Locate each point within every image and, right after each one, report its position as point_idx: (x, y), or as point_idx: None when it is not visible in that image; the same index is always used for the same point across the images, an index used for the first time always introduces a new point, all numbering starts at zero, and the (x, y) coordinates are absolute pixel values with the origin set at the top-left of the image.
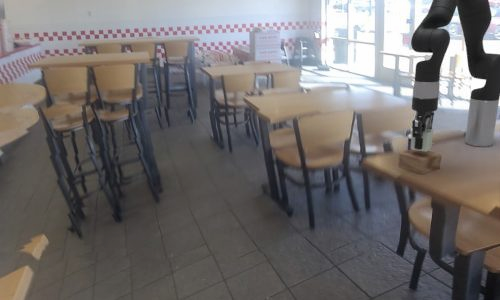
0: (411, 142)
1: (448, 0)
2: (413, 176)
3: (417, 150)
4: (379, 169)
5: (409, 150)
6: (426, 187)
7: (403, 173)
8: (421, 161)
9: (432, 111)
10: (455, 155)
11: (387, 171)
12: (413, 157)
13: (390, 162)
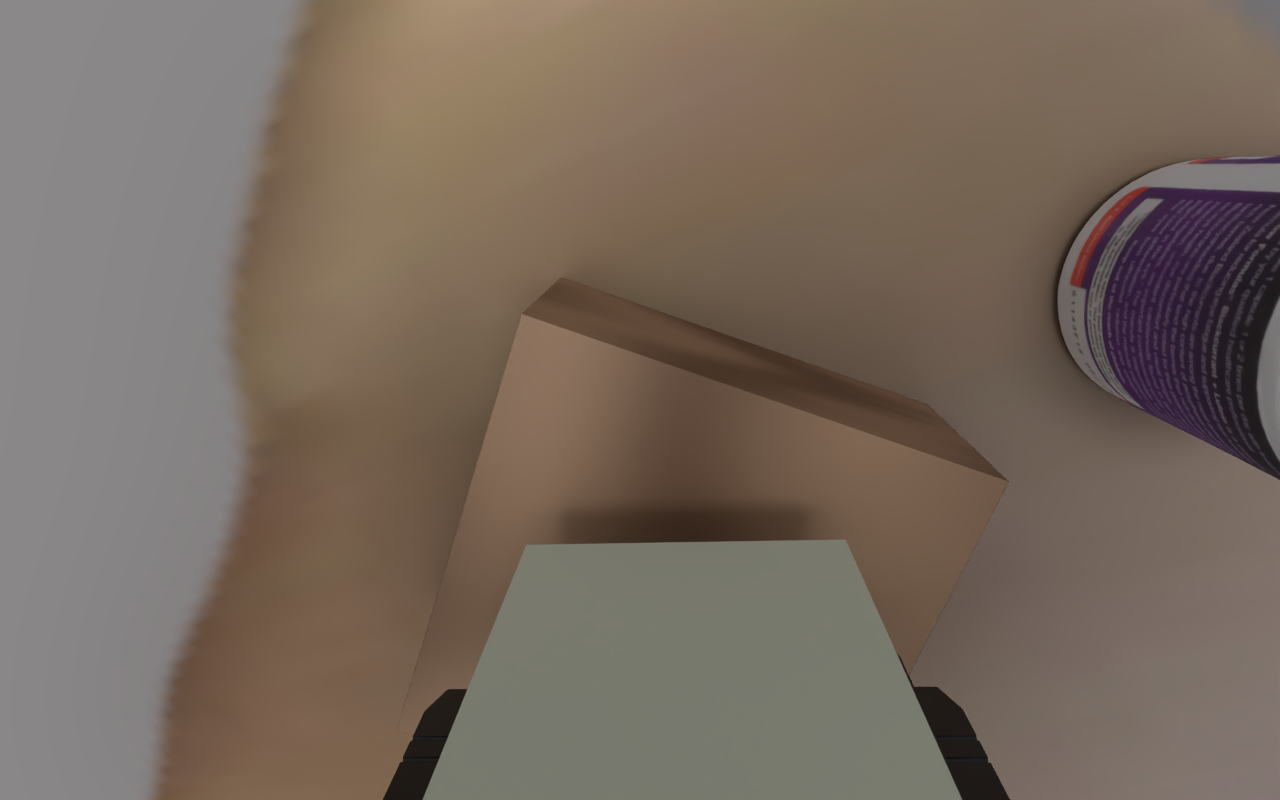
0: (496, 633)
1: None
2: (351, 554)
3: (841, 521)
4: (280, 91)
5: (768, 407)
6: (166, 745)
7: (362, 426)
8: (407, 704)
9: None
10: None
11: (288, 225)
12: (453, 582)
13: (649, 102)
